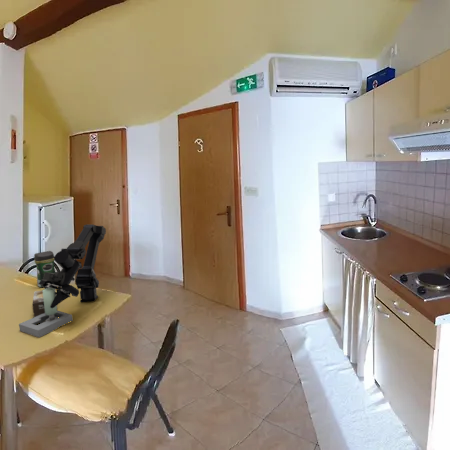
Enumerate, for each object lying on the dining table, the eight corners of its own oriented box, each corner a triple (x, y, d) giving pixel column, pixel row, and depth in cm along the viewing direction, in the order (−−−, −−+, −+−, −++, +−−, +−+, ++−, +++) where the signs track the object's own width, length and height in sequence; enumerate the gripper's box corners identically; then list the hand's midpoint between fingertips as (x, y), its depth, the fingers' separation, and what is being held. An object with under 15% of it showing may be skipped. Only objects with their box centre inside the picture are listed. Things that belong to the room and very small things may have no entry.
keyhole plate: (53, 315, 148) (53, 309, 147) (72, 321, 142) (72, 314, 142) (19, 330, 135) (18, 323, 134) (39, 337, 129) (38, 330, 129)
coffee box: (55, 287, 163) (56, 299, 149) (57, 300, 164) (57, 313, 150) (33, 291, 159) (32, 303, 145) (35, 304, 160) (34, 317, 146)
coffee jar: (54, 281, 191) (50, 249, 188) (59, 284, 186) (55, 251, 182) (35, 285, 184) (31, 252, 181) (40, 289, 179) (36, 255, 175)
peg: (60, 318, 143) (57, 287, 140) (55, 324, 138) (51, 291, 136) (49, 319, 143) (45, 287, 140) (43, 324, 138) (39, 292, 135)
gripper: (40, 260, 144) (17, 294, 136) (70, 266, 135) (47, 303, 128) (58, 273, 152) (38, 305, 144) (88, 279, 144) (68, 314, 136)
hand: (47, 306), depth 138 cm, fingers closed on peg, 4 cm apart
